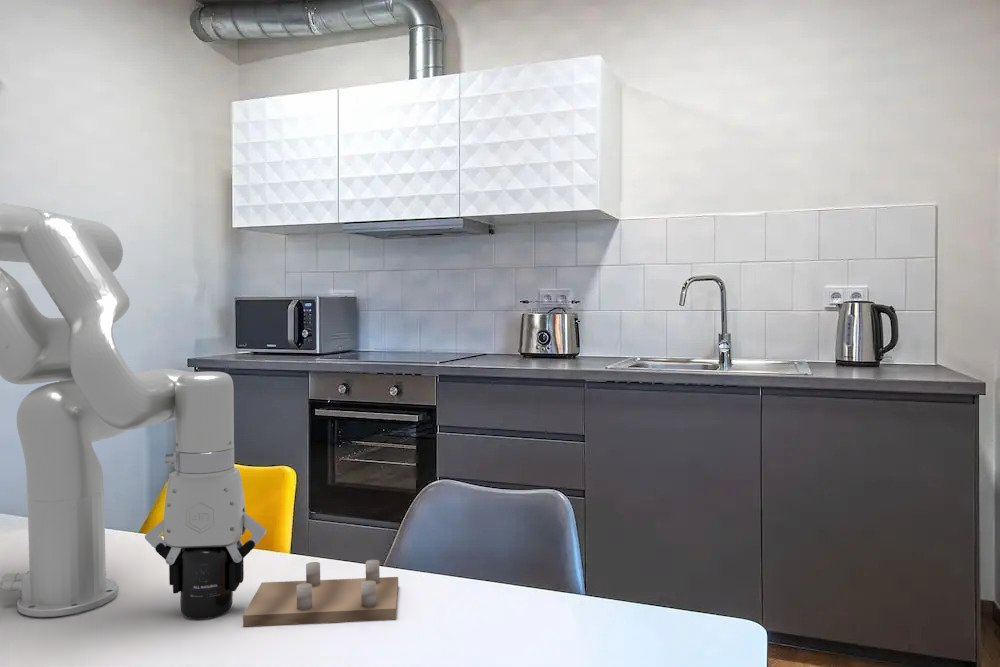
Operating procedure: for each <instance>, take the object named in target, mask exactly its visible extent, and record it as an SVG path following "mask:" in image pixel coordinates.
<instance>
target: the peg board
mask: <svg viewBox="0 0 1000 667" xmlns="http://www.w3.org/2000/svg"><path fill="white" fill-rule="evenodd" d="M398 593H399V576H385V577H380V560H378V559H368V560H366V561H365V577H362V578H360V577H359V578H342V579H341V578H338V579H337V578H336V579H321V563H320V562H318V561H311V562H307V563H306V564H305V580H293V581H291V580H289V581H288V580H287V581H286V580H285V581H265V582H261V583H260V585H259V587H258V588H257V590H256V591H255V594H254V595H253V597H252V599H251V601H250V603H249V604H248V606H247V607H246V610H245V611H244V613H243V615H242V627H244V628H245V627H263V626H264V627H265V626H283V625H284V626H286V625H287V626H288V625H289V626H290V625H307V624H308V625H309V624H327V623H328V624H329V623H345V622H346V623H348V622H367V621H368V622H369V621H373V622H374V621H391V620H393V621H394V620H397V609H398V597H399V594H398Z"/></svg>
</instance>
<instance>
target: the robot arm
mask: <svg viewBox="0 0 1000 667" xmlns="http://www.w3.org/2000/svg"><path fill="white" fill-rule="evenodd" d="M123 255H124V251H123V246H122V242H121V240H120V238H119V236H118V235H117V234H116V232H115V231H114V230H113V229H112V228H110V226H108V225H106V224H104V223H103V222H100V221H95V220H90V219H84V218H77V217H75V216H71V215H70V216H69V215H66V214H61V213H56V212H54V211H53V212H52V211H49V210H43V209H41V208H34V207H28V206H22V205H15V204H9V203H5V202H0V262H13V263H15V262H16V263H27V264H29V266H30V268H31V269H32V271H33V272H34V274H35V275H36V276H37V278H38V280H39V281H40V283H41V284H42V286H43V287H44V289H45V291H46V292H47V293H48V295H49V297H50V298H51V300H52V301H53V303H54V305H55V306H56V307H57V308H58V310H59V312H60V314H61V316H62V317H59V318H58V317H54V318H52V317H51V318H50V317H47V316H45V315H43V313H41V311H40V310H38V308H37V307H36V305H35V303H33V301H32V300H31V298H30V295H29V294H28V293H27V291H26V289H25V288H24V286H22V284H20V283H19V281H18V280H17V279H15V278H14V277H13V276H12V275H11V274H10V273H8V272H7V271H5V270H4V269H3V268H2V267H1V266H0V377H1V378H2V379H3V380H4V381H7V382H8V383H10V384H15V385H33V384H43V383H44V385H41V386H39V387H37V388H35V389H33V390H32V391H30V392H29V393H28V394H26V396H25V397H24V398H22V401H21V402H20V403H19V406H18V408H17V412H16V427H17V429H16V430H17V433H18V436H19V440H20V444H21V447H22V453H23V457H24V458H23V459H24V464H25V465H24V466H25V473H26V474H25V475H26V498H27V525H28V526H27V528H28V529H27V530H28V533H27V534H28V562H29V566H28V571H27V572H25V573H20V572H15V573H14V572H13V573H11V572H8V573H4V574H3V576H2V579H1V591H2V592H4V593H5V592H14V591H16V592H17V591H19V592H20V593H21V596H20V597H19V598H18V600H17V601H16V602H17V603H16V606H17V611H18V612H19V613H20V614H21V615H25V616H27V617H33V618H52V617H53V618H55V617H63V616H64V617H65V616H68V615H74V614H79V613H83V612H86V611H90V610H93V609H96V608H98V607H101V606H103V605H105V604H107V603H109V602H111V601H112V600H113V599H114V598H115V597H117V595H118V593H119V585H118V584H119V583H117V581H116V580H113V579H110V578H107V567H106V564H107V563H106V527H105V525H106V524H105V521H106V520H105V488H104V485H105V483H104V482H105V481H104V472H103V468H102V465H101V462H100V460H99V458H98V456H97V454H96V451H95V450H94V447H93V443H95V442H99V441H102V440H106V439H110V438H114V437H116V436H119V435H121V434H123V433H125V432H126V431H133V430H137V429H141V428H145V427H148V426H153V425H157V424H163V423H166V422H171V421H175V424H174V425H175V450H174V452H171V453H166V454H165V455H164V456H165V457H164V463H165V464H167V465H168V464H170V465H173V467H174V471H173V472H171V473H169V474H168V475H169V476H168V481H167V486H166V491H165V492H166V493H165V501H164V512H163V519H162V520H161V521H160V522H159V523H157V524H156V525H155V526H154V527H153V528H152V529H150V530H149V531H148V532H146V534H145V535H144V539H145V541H146V542H148V543H149V545H151V547H153V548H154V549H155V552H156V553H157V554H158V555H159V556H161V557H162V558H163V559H164V560H165V563H166V565H168V576H169V578H168V579H169V580H168V581H169V582H168V584H169V586H172V593H173V594H178V593H180V573H181V552H182V550H183V548H198V547H225V546H226V547H227V549H228V551H229V553H230V555H231V557H232V561H231V562H230V564H229V590H231V591H233V592H235V591H236V590H238V587H239V586H240V584H242V583H243V581H244V574H245V572H244V571H245V570H244V558H245V557H246V556H247V555H249V554H250V552H251V551H252V550H253V549H254V548H255V547H256V546H257V545H258V543H259V542H260V541H261V540H262V539H263V537H265V535H266V533H267V529H266V528H265V527H264V526H263V525H262V524H260V523H259V522H258V521H256V519H254V518H253V517H251V516H250V515H249V514H248V513H246V502H245V501H246V500H245V493H244V487H243V481H242V476H241V471H240V468H238V467H235V421H234V420H235V416H234V415H235V410H234V408H235V407H234V406H235V405H234V404H235V402H234V400H235V398H234V381H233V379H232V377H231V375H230V374H229V373H226V372H222V371H214V370H213V371H211V370H210V371H193V372H192V371H188V370H187V371H186V370H181V369H176V368H158V369H157V368H156V369H147V370H138V371H134V372H133V371H132V370H131V369H130V368H131V367H130V366H129V365H128V364H127V363H126V360H125V359H124V358H123V356H122V355H121V353H120V351H119V350H118V348H117V346H116V343H115V340H114V339H115V338H114V335H113V334H114V332H113V326H114V324H115V323H116V322H118V321H119V320H120V319H121V318H123V316H124V315H125V314H126V313H127V311H129V308H130V303H131V302H130V301H131V300H130V297H129V295H128V293H127V292H126V291H125V289H124V288H123V287H122V285H121V284H120V282H119V280H118V279H117V277H116V276H115V274H114V272H115V271H116V270H118V268H120V267H119V266H120V265H121V263H122V260H123ZM45 383H46V384H45ZM246 530H247V531H248V532H250V533H251V536H250V537H249V539H248V540H247V541H246V542H245V543H243V542H242V540H241V538H242V536H243V535H244V534H245V533H246ZM161 534H163V535H162V536H163V537H162V536H161Z"/></svg>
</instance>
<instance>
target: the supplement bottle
mask: <svg viewBox="0 0 1000 667" xmlns="http://www.w3.org/2000/svg"><path fill="white" fill-rule="evenodd" d="M231 561H232V557H231V555H230V553H229V551H228V549H227V547H226V546H225V547H198V548H183V550H182V552H181V573H180V592H179V594H180V597H179V600H180V604H179V606H180V607H179V608H180V613H181V614H182V615H183V617H186V618H188V619H194V620H206V619H212V618H216V617H217V618H218V617H220V616H222V615H224V614H226V613H228V612H229V611H230V610H231V609H232V607H233V602H234V601H233V600H234V598H233V596H234V594H233V593H234V591H231V590H229V564H230V562H231Z"/></svg>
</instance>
